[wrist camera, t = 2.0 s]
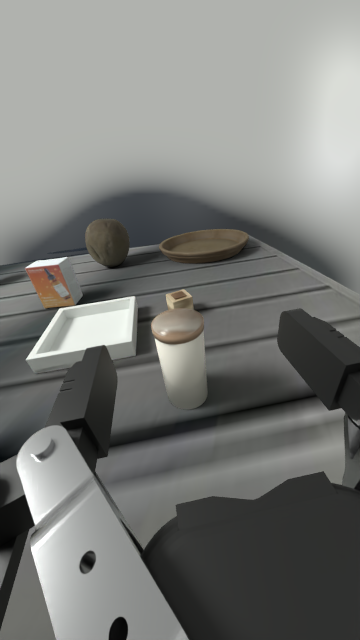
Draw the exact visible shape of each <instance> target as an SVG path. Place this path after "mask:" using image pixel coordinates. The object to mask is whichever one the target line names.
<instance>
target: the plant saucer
mask: <svg viewBox="0 0 360 640" xmlns="http://www.w3.org/2000/svg"><path fill="white" fill-rule="evenodd" d="M248 239H249V236H248V234H247V233H245V232H243V231H239V230H232V229H214V230H213V229H212V230H202V231H195V232H189V233H184V234H181V235H177V236H174V237H171V238H169V239H167V240H165V241H163V242H162V243H161V244H160V245H159V248H160V250H161V251H162V253H163V254H164V255H166V256H167V257H168V258H169V259H170V260H172V261H175V262H180V263H207V262H214V261H219V260H223V259H227V258H229V257H232V256H234V255H236V254H237V253H239V252H240V251H241V249H242V247H244V246H245V245H246V243H247V242H248Z"/></svg>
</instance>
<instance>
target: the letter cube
mask: <svg viewBox="0 0 360 640" xmlns="http://www.w3.org/2000/svg"><path fill="white" fill-rule="evenodd" d="M166 299H167V305H168V310H171V309H177V308H187V309H192V310H193V299H192V296H191V295H190V294H189V293H187V292H186V291H185V290H180V291H177V292H173V293H170V294H166Z"/></svg>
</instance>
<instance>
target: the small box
mask: <svg viewBox="0 0 360 640" xmlns="http://www.w3.org/2000/svg"><path fill="white" fill-rule="evenodd" d="M25 269H26V272H27V274H28V276H29V278H30V280H31V282H32V284H33V286H34V288H35V290H36V292H37V294H38V296H39V298H40V300H41V302H42V304H43V306H44V308H51V307H61V306H75V305H76V304H77V302H78V301H79V300H80V299H81V297H82V296H83V294H82V291H81V288H80V286H79V283H78V280H77V278H76V275H75V272H74V270H73V267H72V265H71V262H70V259H69V257H65V258H59V259H50V260H39V261H36V262H34V263H33V264H31V265H29V266H28V267H26V268H25Z"/></svg>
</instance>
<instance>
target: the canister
mask: <svg viewBox="0 0 360 640" xmlns="http://www.w3.org/2000/svg"><path fill="white" fill-rule="evenodd" d="M151 328H152V333H153V336H154V337H155V341H156V346H157V350H158V355H159V359H160V364H161V368H162V373H163V377H164V382H165V386H166V390H167V395H168V399H169V401H170V402H171V404H172V405H173V406H175V407H177V408H179V409H183V410H190V409H194V408H197V407H199V406H200V405H201V404H203V402H204V401H205V400H206V398H207V395H208V389H207V375H206V361H205V348H204V334H203V330H204V321H203V317H202V315H201V314H200V313H199V312H197V311H195V310H192V309H187V308H177V309H171V310H168V311H165V312H163V313H161V314H159V315H158V316H156V317H155V318H154V320H153V321H152V323H151Z"/></svg>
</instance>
